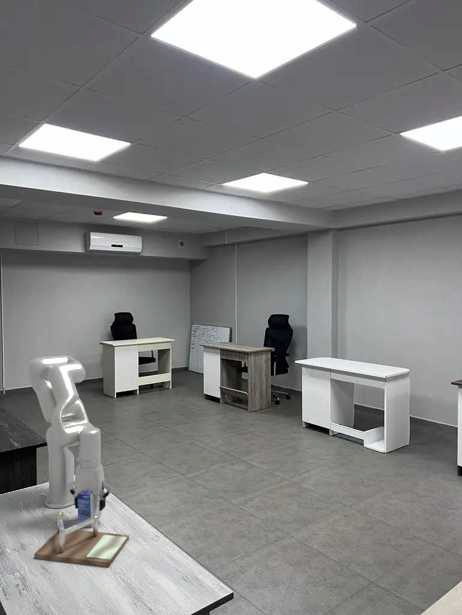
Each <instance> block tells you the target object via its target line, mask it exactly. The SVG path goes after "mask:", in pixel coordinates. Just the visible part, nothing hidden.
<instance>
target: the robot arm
mask: <svg viewBox="0 0 462 615" xmlns="http://www.w3.org/2000/svg"><path fill="white" fill-rule="evenodd" d="M26 374H27V378H28V382H29V384H30V386H31V387H32V389H33V391H34V392H35V393H36V397H37V399H38V402H39V406H40V408H41V412H42V415H43V418H44V419H45V421H46V422H47V423H50V424H51V425H50V427H48V429H47V430H46V433H45V438H46V444H47V449H48V450H47V451H48V488H41V489H40V493H39V494H40V496H41V497H45V499H44V505H45V506H46V507H47V508H50V509H63V508H67V507H70V506H72V505H74V509H75V510H78V500H77V494H78V493H79V492H81V491H84V492H93V496H97V495H98V496H99V498H100V500H99V511H101V512H102V511H103V510H104V509H105V507H106V505H107V502H106V501H107V499H106V498H107V497H108V496H109V495H111V492H112V491H113V486H112V485H110V484H109V483H107V482H105V473H104V472H105V471H104V467H103V464H101V461H102V460H101V459H102V458H101V456H102V454H101V452H102V451H101V450H102V449H101V448H102V447H101V446H102V445H101V444H102V443H101V436H102V435H101V429H100V428H99V427H96V426H94V425H93V424H92V423H90V420H89V417H88V414H87V412H86V408H85V406H84V403H83V400H81V399H80V395H79V393H78V390H77V388H76V383H81V382H83V381H84V380H85V378H86V369H85V367H84V366H83V364H82V363H81V362H80V361H78V360H77V359H75V358H73V357H71V356H70V355H66V354H64V355H63V354H61V355H51V356H43V357H36V358H34V359H32V360H30V361H29V362H28V363H27V366H26ZM77 445H78V447H79V448H78V449H79V450H78V452H79V453H78V454H79V457H76V459H75V455H74V453H73V452H72V451H71V450H70V449H69V448H70V447H74V446H77ZM75 462H77V463H78V465H76V470H75ZM105 489H106V491H105Z"/></svg>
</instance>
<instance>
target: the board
mask: <svg viewBox="0 0 462 615" xmlns="http://www.w3.org/2000/svg"><path fill="white" fill-rule="evenodd" d="M65 529H67V528H65V527H64V530H65ZM129 540H130V535H129V534H122V533H121V534H119V533H111V532H110V533H109V532H103V531H98V536H97V537H93V530H84V529H83V530H82V529H77V530H75V531H73V532H71V533H69V534H67V535H65V552H64V553H59V533H58V532H57V531H56V532H55V533H54V534H52V536H51V537H50V538H49V539H48V540H47V541H46V542H45V543H44V544H43V545H42V546H41V547H39V548H38V550H36V552H34V559H38V560H47V561H54V562H63V563H72V564H79V565H80V564H81V565H88V566H94V567H96V566H98V567H103V568H104V567H106V568H110V566H112V564H113V562H114V561H115V560H116V558H117V557H118V556H119V554H120V552H122V549H123V548H124V547H125V546H126V544H128V543H127V542H129Z"/></svg>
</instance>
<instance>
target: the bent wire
mask: <svg viewBox="0 0 462 615" xmlns="http://www.w3.org/2000/svg"><path fill="white" fill-rule="evenodd" d="M63 516H64V513H63V512H62V511H59V512H57V513H56V518H57V531H56V532H58V533H59V553H64V552H65V535H67V534H69V533H71V532H73V531H75V530H81V529H82V528H85V527H84V526H86V525H88V524H91V523H93V526H92V531H93V537H97V536H98V532H99V531H98V530H99V518H98V516H97V515H95V516H93V517H91V518H89V519H87V520H85V521H83V522H80V523H78V522H77V523H76V524H74V525H72V526H69V527H67V528H66V529H65V530H64V528H65V526H64V520H63Z"/></svg>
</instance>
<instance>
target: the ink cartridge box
mask: <svg viewBox="0 0 462 615" xmlns="http://www.w3.org/2000/svg"><path fill="white" fill-rule="evenodd" d="M77 500H78V508H77V524H78V523H80V522H83V521H85V520H87V519H89V518H91V517H93V516H95V515H97V516H98V519H99V518H100V517H101V516H102V511H99V500H100V498H99V496H98V495H97V496H93V492H84V491H81V492H79V493H78V494H77ZM83 528H93V523H91V524H88V525H86V526H84V527H83Z"/></svg>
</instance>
